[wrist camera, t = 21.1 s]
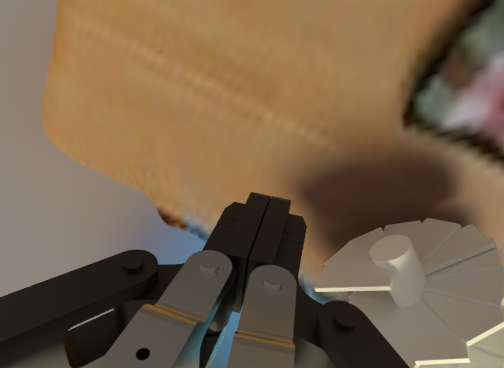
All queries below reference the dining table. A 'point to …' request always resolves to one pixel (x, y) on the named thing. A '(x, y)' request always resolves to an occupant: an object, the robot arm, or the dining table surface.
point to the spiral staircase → (427, 291)
